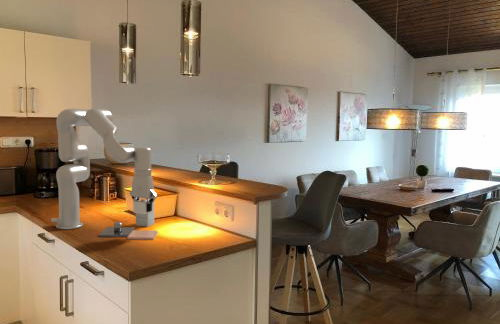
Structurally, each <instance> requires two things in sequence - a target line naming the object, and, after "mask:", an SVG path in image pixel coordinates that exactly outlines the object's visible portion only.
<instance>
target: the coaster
mask: <svg viewBox="0 0 500 324" xmlns="http://www.w3.org/2000/svg"><path fill="white" fill-rule="evenodd" d="M157 235H158V230H134V231H132V232H131V233H130V235H129V236H128V237H126V240H141V241H144V240H145V241H146V240H149V241H150V240H153V241H154V240H155V238H156V236H157Z"/></svg>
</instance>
